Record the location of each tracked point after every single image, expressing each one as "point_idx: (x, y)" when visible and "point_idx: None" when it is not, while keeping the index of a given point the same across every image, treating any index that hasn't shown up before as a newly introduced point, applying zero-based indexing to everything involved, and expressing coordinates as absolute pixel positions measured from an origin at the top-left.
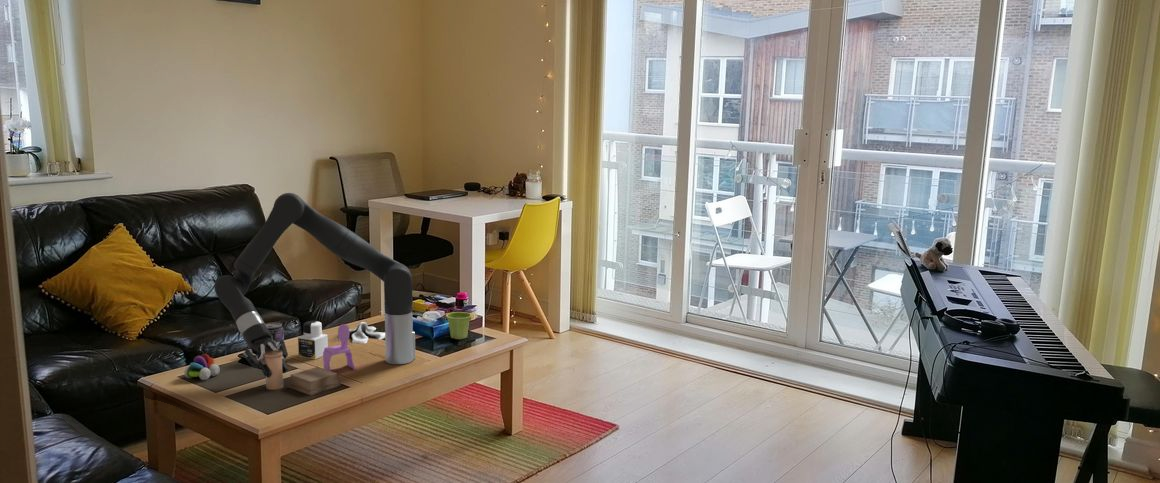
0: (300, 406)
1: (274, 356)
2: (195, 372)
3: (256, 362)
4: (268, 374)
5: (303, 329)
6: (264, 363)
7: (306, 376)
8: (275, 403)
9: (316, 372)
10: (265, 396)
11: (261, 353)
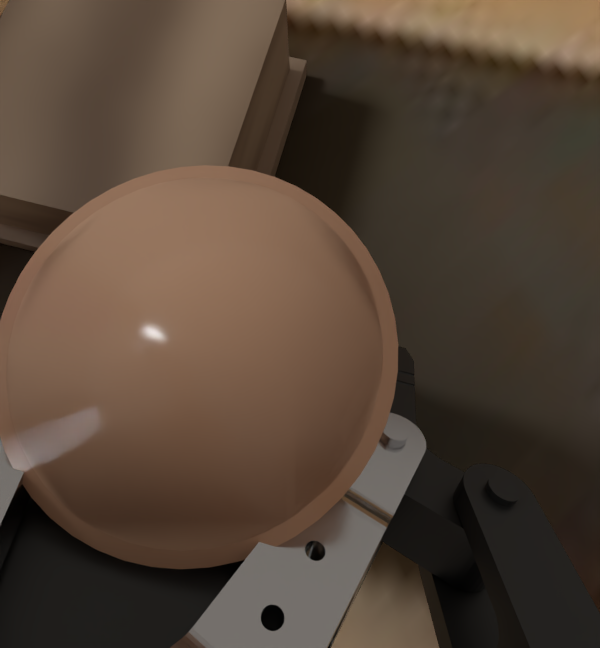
0: (487, 15)
1: (327, 218)
2: None
3: (522, 501)
4: None
5: None
6: (387, 422)
7: (186, 97)
8: (532, 169)
9: (65, 90)
10: (466, 321)
11: (355, 576)
